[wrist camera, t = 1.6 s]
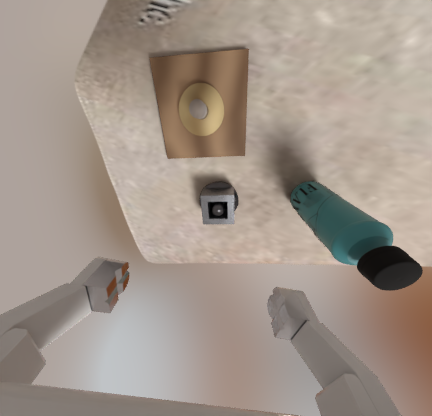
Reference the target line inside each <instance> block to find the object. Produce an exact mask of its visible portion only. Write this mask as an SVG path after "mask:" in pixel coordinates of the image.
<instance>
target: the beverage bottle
mask: <svg viewBox="0 0 432 416" xmlns="http://www.w3.org/2000/svg"><path fill="white" fill-rule="evenodd" d="M290 202H291V204H292V206H293V209H295V210H296V211H297V212H298V213H297V214H299V215H300V217H301V218H302V220H304V221H305V222H306V223H305V224H308V226H309V227H310V228H311V229H312V230H313V232H314V233H315V235H316V237H317V238H319V240H320V241H322V243H323V244H324V245H325V246H326V247H327V248H328V249H329V251H330V252H331V253H332V255H333V257H334V258H335V259H336V260H338V261H339V262H341V263H344V264H349V265H357V269H358V270H359V272H360V273H361V274H362V275H363V276H364V277H366V278H367V279H368V280H369V281H370V282H371V283H372V284H373V285H374V286H376V287H377V288H379V289H382V290H398V289H402V288H405V287H407V286H409V285H411V284H413V283H414V282H416V281H417V280H418V279H419V278H420V277H421V275H422V267H421V266H420V264H419V263H417V262H416V261H415V260H414V259H412V258H411V257H410V256H409V255H408V254H407V253H406V252H405V251H403V250H402V249H400V248H399V247H396V246H392V242H393V233H392V231H391V229H390V228H389V227H388V226H387V225H385V224H383V223H381V222H379V221H377V220H376V219H374V218H373V217H371V216H369V215H368V214H366V213H365V212H363V211H361V210H360V209H358V208H357V207H355V206H353V205H352V204H350V203H349V202H347V201H345V200H344V199H342V198H341V197H340V196H338V194H335V192H332V191H331V190H330V189H327V188H326V187H324V186H323V185H322V184H320V182H318V183H317V182H316V181H315V182H313V181H312V182H311V181H309V182H304V183H302V184H300V185H298V186H297V187H296V188H295V189H294V190H293V192H292V194H291V200H290ZM323 244H322V245H323Z"/></svg>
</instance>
